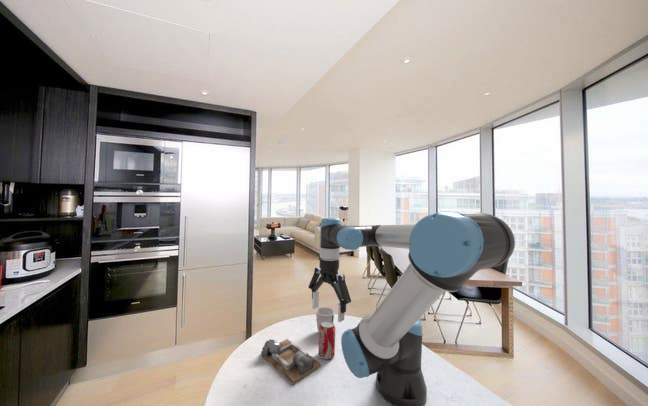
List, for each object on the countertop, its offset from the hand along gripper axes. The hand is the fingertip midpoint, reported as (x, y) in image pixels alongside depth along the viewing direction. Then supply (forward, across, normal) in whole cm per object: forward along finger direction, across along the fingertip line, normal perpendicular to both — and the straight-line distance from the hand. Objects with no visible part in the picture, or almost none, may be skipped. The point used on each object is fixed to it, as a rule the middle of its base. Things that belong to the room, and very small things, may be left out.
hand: (327, 314), depth 88 cm
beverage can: (+16, 0, 0) cm, 16 cm away
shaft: (+14, +13, +16) cm, 25 cm away
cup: (+16, +11, -10) cm, 22 cm away
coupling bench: (+16, +7, +12) cm, 21 cm away
